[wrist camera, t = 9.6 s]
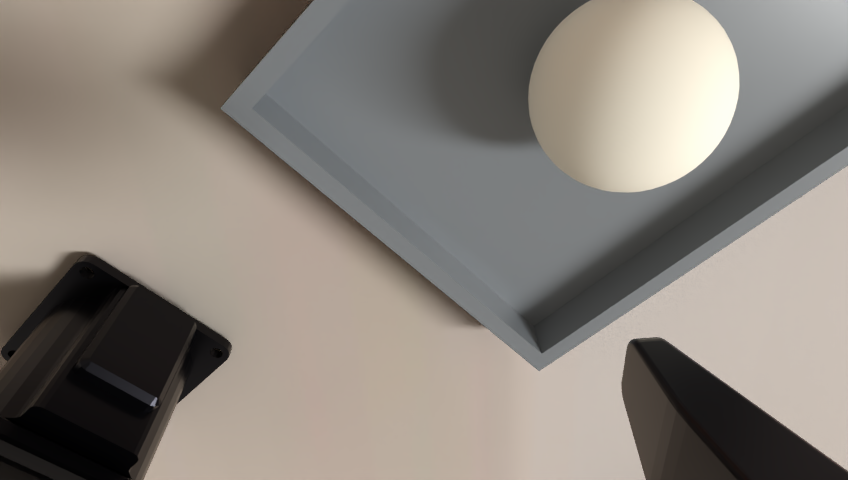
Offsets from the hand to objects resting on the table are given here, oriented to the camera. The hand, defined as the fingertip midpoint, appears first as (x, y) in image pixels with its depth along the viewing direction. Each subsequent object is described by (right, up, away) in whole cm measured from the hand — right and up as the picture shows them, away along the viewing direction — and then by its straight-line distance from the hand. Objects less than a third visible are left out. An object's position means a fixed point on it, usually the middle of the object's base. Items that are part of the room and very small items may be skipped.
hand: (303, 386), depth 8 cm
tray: (+7, +8, +10) cm, 14 cm away
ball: (+7, +6, +7) cm, 11 cm away
